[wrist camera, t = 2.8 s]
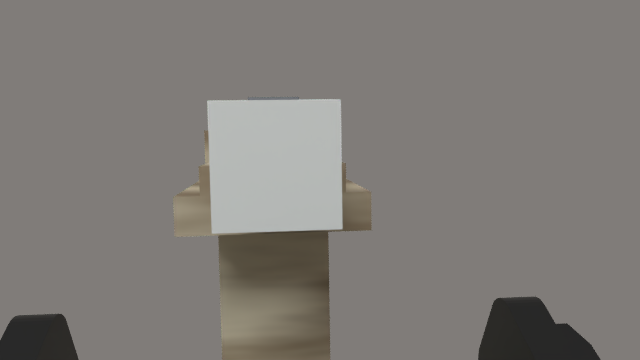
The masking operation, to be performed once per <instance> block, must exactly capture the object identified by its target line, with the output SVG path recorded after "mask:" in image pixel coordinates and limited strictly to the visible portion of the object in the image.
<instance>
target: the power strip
mask: <svg viewBox="0 0 640 360" xmlns="http://www.w3.org/2000/svg"><path fill="white" fill-rule="evenodd" d="M207 104H208V136H209V166H210V196H211V227H212V234H218V233H248V232H278V231H308V230H338V229H343V224H342V158H341V157H342V154H341V153H342V152H341V100H340V99H320V100H319V99H318V100H316V99H315V100H299V97H252V98H248V100H221V101H207Z"/></svg>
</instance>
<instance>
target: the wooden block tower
mask: <svg viewBox="0 0 640 360" xmlns="http://www.w3.org/2000/svg"><path fill="white" fill-rule="evenodd" d="M204 133H205V161H206V164H204V165H201V166H199V181H198V182H197V183H195V184H193V185H192V186H190V187H189V188H187V189H185V190H184V191H183V192H181V193H179V194H177V195H176V196H175V197H173V203H174V227H175V228H174V229H175V237H180V236H181V237H183V236H212V235H218V236H219V237H218V238H219V270H220V299H221V300H220V301H221V329H222V330H221V332H222V360H330V319H329V318H330V316H329V255H328V254H329V253H328V232H329V231H330V232H332V231H361V230H371V192H370V191H368V190H367V189H365V188H362V187H360V186H359V185H357V184H355V183H353V182H351V181H349V180H347V179H346V164H345V163H343V162H342V224H343V229H338V230H308V231H278V232H248V233H218V234H212V227H211V196H210V166H209V136H208V131H204Z"/></svg>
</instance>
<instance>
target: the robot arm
mask: <svg viewBox="0 0 640 360" xmlns="http://www.w3.org/2000/svg"><path fill="white" fill-rule="evenodd" d="M0 360H78V356H77V353H76V350H75V347H74V344H73V340H72V337H71V334H70V331H69V328H68V325H67V321H66V319H65V317H64V316H63V315H62V314H47V315H46V314H45V315H19V316H15V317H14V318H13V319H12V320H11V321H10V323H9V324H8V326H7V328H6V330H5V332H4V334H3V336H2V338H1V340H0ZM478 360H600V358H599V357H598V355H597V353H596V352H595V350H594V349H593V347H592V345H591V344H590V343H588V342H587V341H586V340H585V339H584V338H583V337H582V336H581V335H579V334H578V333H577V332H576V331H575V330H574V329H573V328H572V327H570V326H569V325H568V324H555V322H554V320H553V319H552V317H551V315H550V314H549V312H548V310H547V309H546V307H545V305H544V304H543V302H542V301H541V300H540V299H539V298H537V297H514V298H498V299H496V300H495V301H494V303H493V305H492V309H491V312H490V316H489V318H488V322H487V325H486V328H485V332H484V335H483V338H482V342H481V345H480V348H479V358H478Z"/></svg>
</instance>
